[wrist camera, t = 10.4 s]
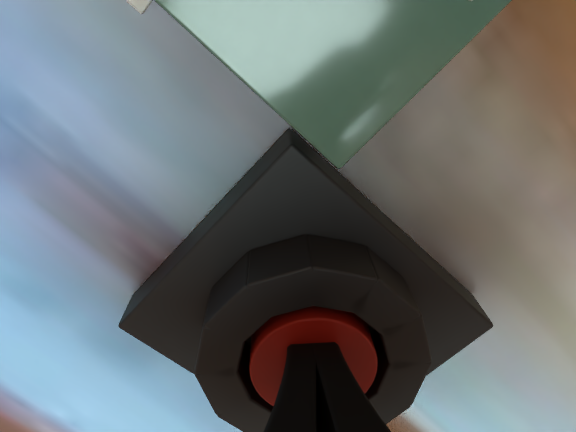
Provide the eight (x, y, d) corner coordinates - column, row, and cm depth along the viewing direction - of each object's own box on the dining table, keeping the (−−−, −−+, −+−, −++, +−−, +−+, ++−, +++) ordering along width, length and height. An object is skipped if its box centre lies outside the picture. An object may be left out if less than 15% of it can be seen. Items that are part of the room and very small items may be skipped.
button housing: (289, 126, 13) (295, 165, 10) (473, 295, 16) (524, 367, 13) (131, 295, 15) (95, 370, 12) (316, 416, 18) (325, 502, 15)
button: (307, 260, 13) (312, 295, 11) (389, 325, 14) (404, 366, 12) (228, 333, 14) (222, 375, 12) (310, 389, 15) (314, 434, 14)
